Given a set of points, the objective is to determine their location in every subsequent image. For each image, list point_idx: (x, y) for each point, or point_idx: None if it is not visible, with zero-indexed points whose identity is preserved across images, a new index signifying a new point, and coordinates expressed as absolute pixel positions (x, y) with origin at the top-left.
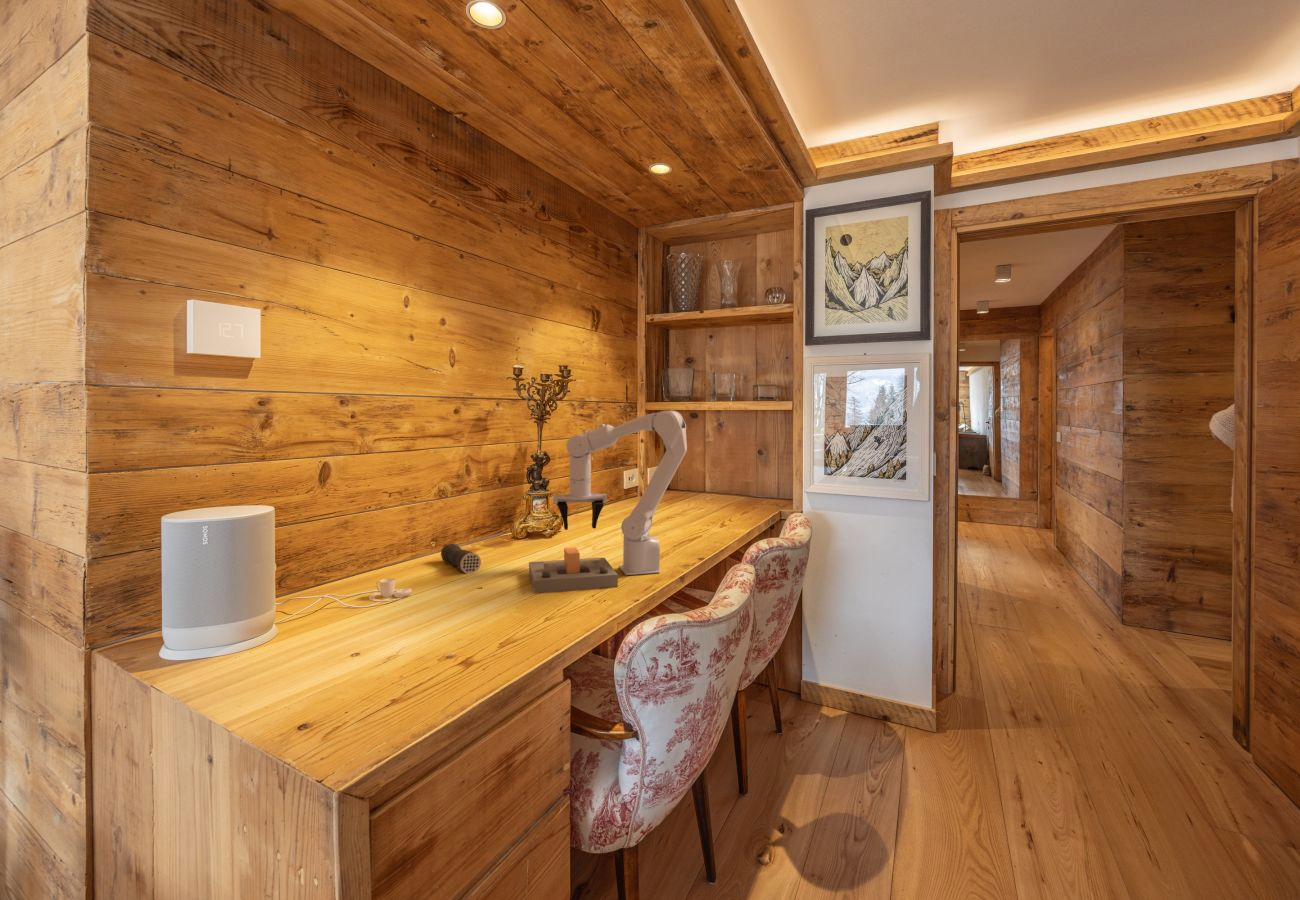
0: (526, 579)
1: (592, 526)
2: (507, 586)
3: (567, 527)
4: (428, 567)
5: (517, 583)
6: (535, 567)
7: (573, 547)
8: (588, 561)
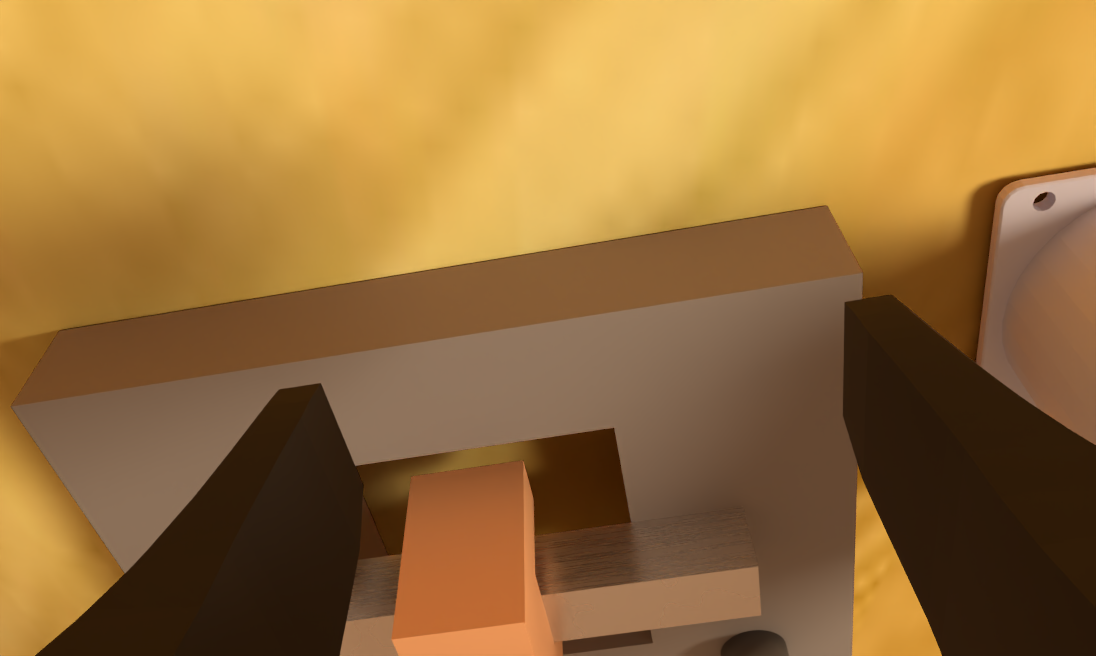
0: None
1: (850, 360)
2: (26, 582)
3: (354, 528)
4: None
5: (72, 536)
6: (150, 542)
7: (498, 634)
8: (647, 622)
